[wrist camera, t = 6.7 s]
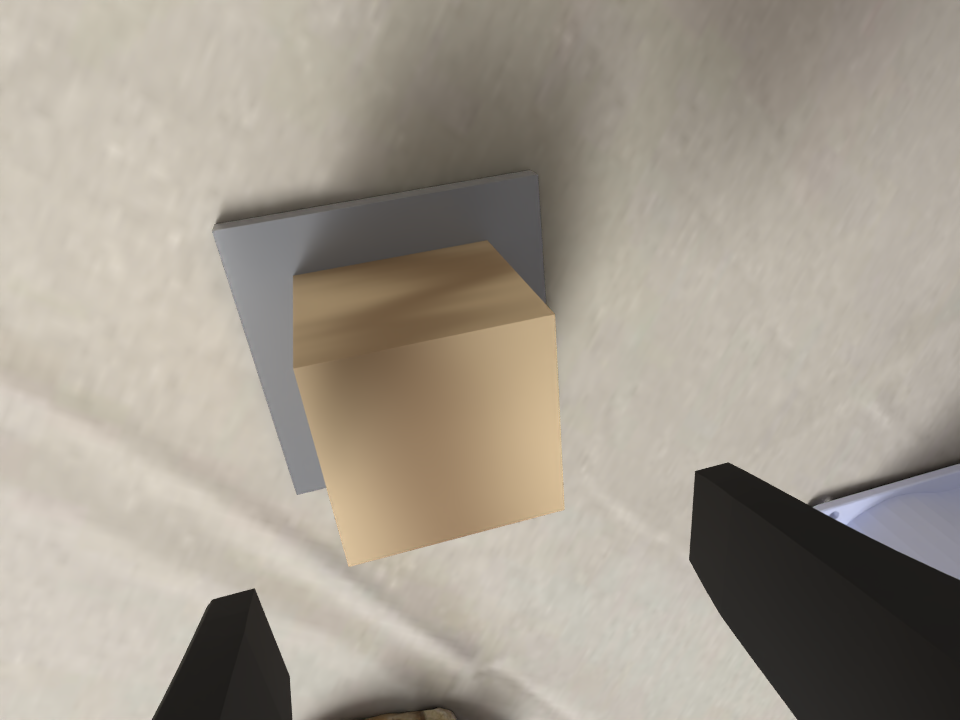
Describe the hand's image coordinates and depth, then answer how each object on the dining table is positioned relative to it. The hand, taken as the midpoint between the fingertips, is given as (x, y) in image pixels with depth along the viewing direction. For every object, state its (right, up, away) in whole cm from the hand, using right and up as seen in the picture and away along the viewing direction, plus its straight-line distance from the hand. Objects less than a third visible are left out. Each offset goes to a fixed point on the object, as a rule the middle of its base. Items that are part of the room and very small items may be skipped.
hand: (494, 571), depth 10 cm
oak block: (-2, +4, +7) cm, 8 cm away
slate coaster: (-2, +4, +8) cm, 9 cm away
